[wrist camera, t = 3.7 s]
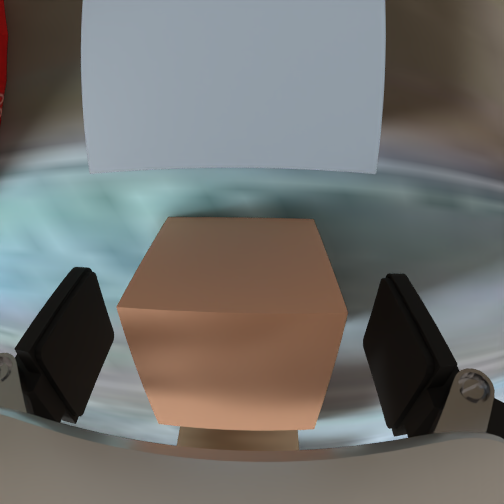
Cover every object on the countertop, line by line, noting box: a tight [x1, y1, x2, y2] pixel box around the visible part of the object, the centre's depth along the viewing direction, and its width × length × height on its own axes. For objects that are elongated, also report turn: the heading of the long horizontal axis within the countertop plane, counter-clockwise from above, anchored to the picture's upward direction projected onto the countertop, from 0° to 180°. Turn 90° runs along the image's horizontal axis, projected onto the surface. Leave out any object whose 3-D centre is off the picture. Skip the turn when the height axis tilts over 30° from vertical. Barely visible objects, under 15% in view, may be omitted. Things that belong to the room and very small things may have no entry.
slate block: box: [81, 0, 386, 174], centre depth 6 cm, size 5×5×5 cm
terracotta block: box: [117, 217, 348, 431], centre depth 10 cm, size 5×5×5 cm
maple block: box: [177, 426, 299, 451], centre depth 14 cm, size 5×5×5 cm
